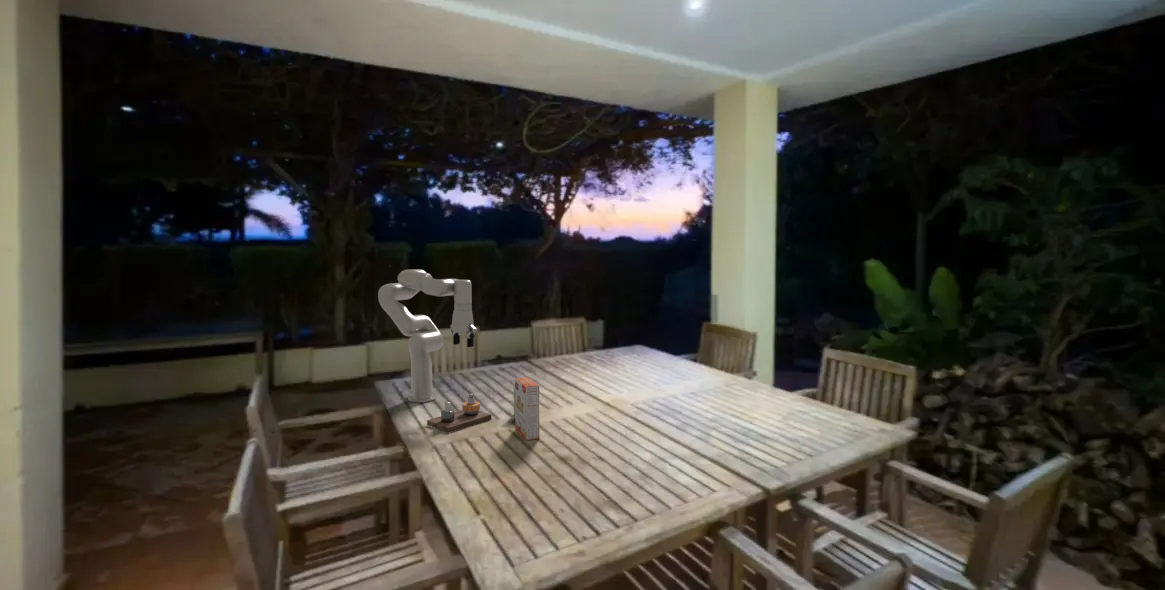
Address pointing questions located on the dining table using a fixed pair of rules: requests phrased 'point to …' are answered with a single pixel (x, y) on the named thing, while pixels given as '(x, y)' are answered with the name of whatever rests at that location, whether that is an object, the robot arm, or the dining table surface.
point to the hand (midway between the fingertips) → (463, 345)
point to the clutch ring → (471, 407)
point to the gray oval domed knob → (447, 414)
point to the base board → (459, 421)
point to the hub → (471, 402)
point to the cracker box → (527, 408)
